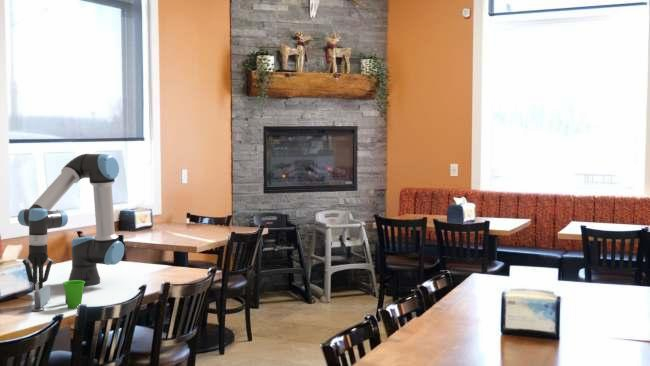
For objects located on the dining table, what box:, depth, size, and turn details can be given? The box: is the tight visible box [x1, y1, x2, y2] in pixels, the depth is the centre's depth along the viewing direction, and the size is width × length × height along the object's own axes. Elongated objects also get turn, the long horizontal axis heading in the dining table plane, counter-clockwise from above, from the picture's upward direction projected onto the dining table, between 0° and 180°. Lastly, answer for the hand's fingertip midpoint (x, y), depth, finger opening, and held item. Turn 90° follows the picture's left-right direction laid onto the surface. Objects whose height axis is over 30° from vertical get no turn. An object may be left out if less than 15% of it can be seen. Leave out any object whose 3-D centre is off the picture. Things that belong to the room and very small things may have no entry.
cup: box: [62, 280, 85, 310], centre depth 332 cm, size 9×9×11 cm
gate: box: [33, 284, 51, 309], centre depth 333 cm, size 17×2×7 cm, turn 4°
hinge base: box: [30, 306, 45, 313], centre depth 326 cm, size 5×5×1 cm
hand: (37, 297), depth 336 cm, fingers closed
